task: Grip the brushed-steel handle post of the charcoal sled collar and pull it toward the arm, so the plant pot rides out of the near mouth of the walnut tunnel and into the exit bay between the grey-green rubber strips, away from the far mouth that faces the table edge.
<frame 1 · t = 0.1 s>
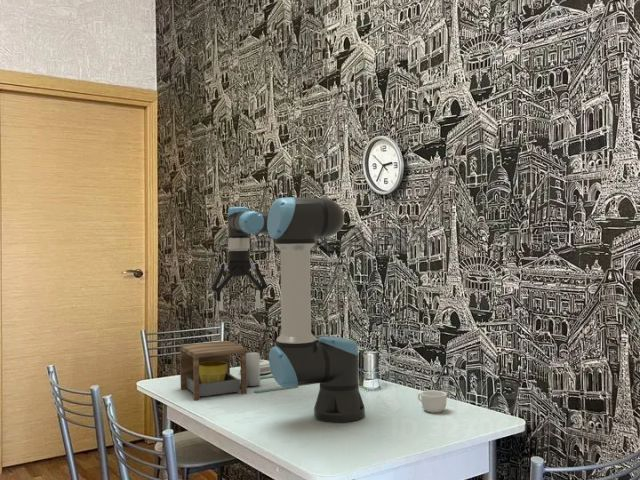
hand: (239, 309, 225), 28 cm above the table, fingers open, 13 cm apart
sled: (226, 371, 222), point 6 cm above the table, slide at 0.0 cm
plant pot: (212, 391, 220), resting in sled
exit bay: (266, 384, 229), on the table
tunnel: (212, 391, 220), on the table
lid: (256, 373, 248), on the table
teacup: (431, 411, 192), on the table
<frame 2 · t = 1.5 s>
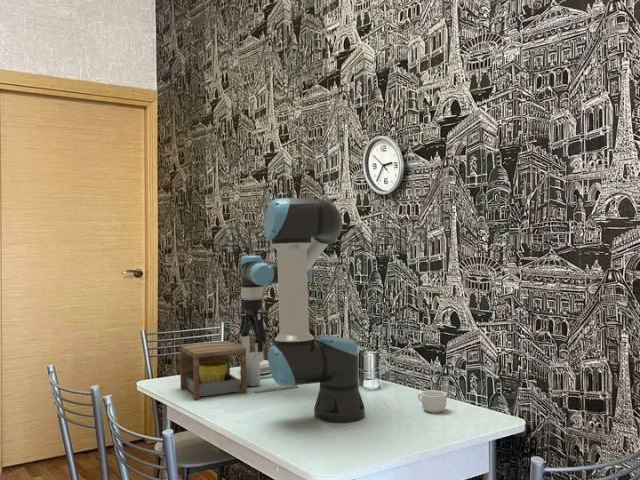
hand: (252, 357, 227), 10 cm above the table, fingers open, 13 cm apart
nothing on the table moved.
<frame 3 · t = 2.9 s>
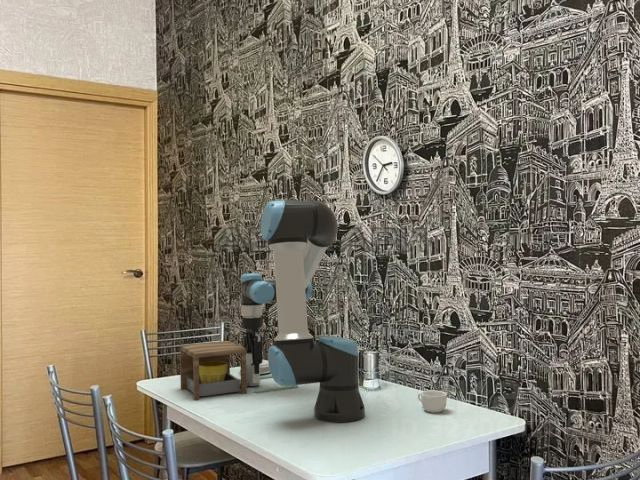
hand: (253, 380, 226), 2 cm above the table, fingers closed on sled, 5 cm apart
sled: (226, 371, 222), point 6 cm above the table, slide at 0.0 cm, touching gripper
everything else where it was.
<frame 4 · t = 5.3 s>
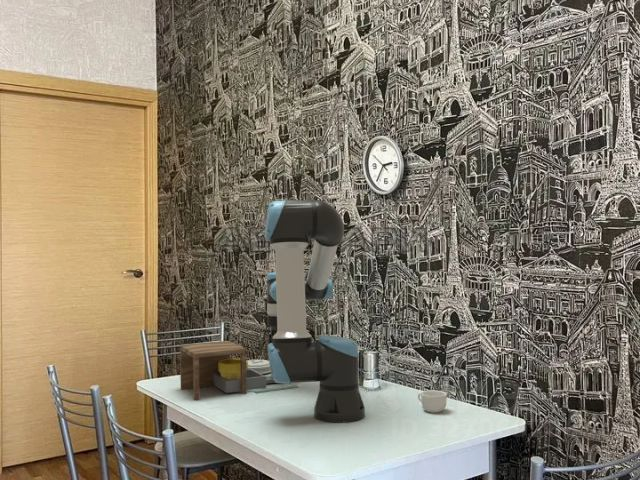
hand: (278, 377, 231), 2 cm above the table, fingers closed on sled, 5 cm apart
sled: (252, 368, 226), point 6 cm above the table, slide at 9.8 cm, touching plant pot, gripper
plant pot: (233, 389, 223), resting in sled
everything else where it was.
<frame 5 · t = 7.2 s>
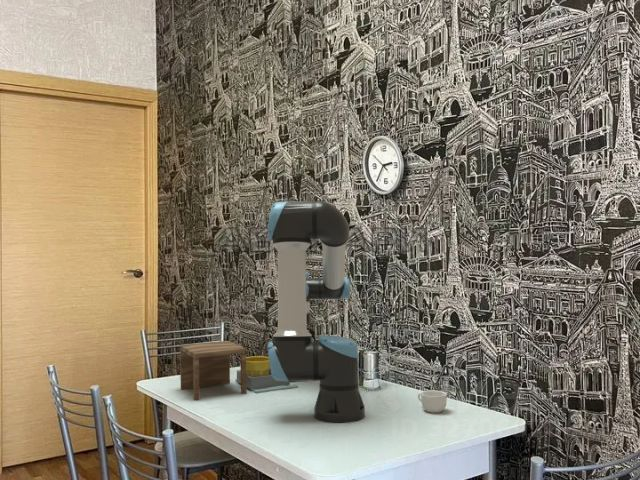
hand: (300, 375, 235), 2 cm above the table, fingers closed on sled, 5 cm apart
sled: (275, 366, 230), point 6 cm above the table, slide at 18.8 cm, touching plant pot, gripper
plant pot: (257, 386, 226), resting in sled
everything else where it was.
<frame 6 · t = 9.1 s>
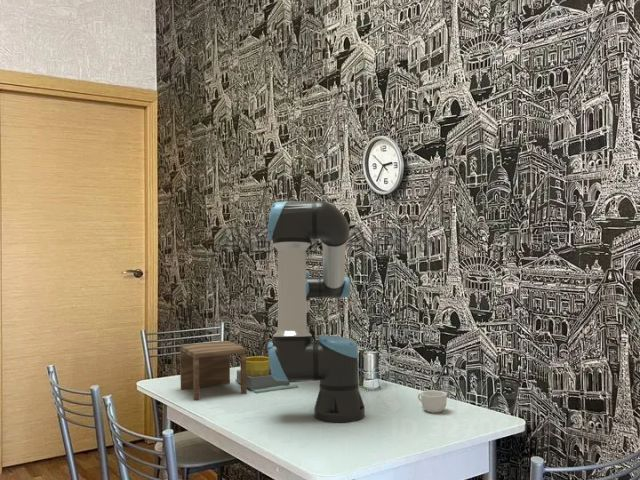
hand: (300, 368, 235), 4 cm above the table, fingers open, 13 cm apart
sled: (275, 366, 230), point 6 cm above the table, slide at 18.8 cm
plant pot: (257, 386, 226), resting in sled
everything else where it was.
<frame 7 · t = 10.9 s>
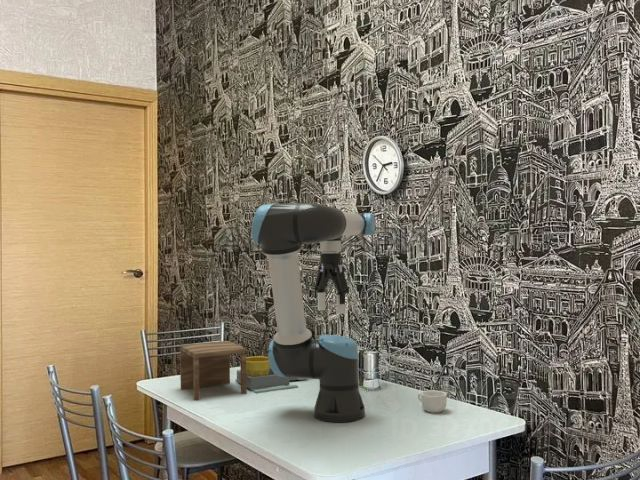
hand: (331, 312, 226), 26 cm above the table, fingers open, 13 cm apart
nothing on the table moved.
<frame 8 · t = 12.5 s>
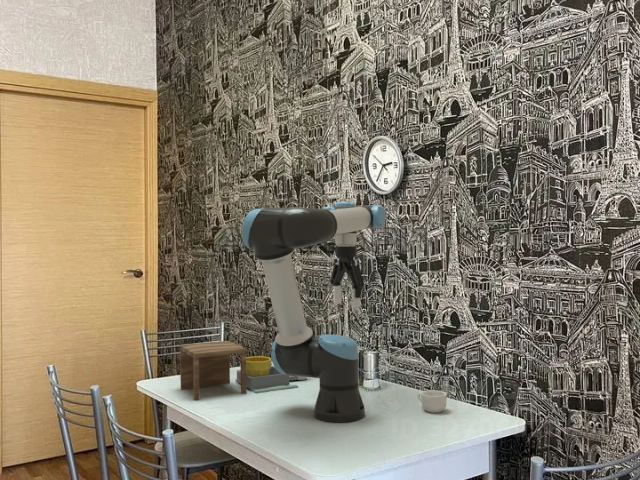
hand: (346, 305, 223), 29 cm above the table, fingers open, 13 cm apart
nothing on the table moved.
at the end: sled slide at 18.8 cm; plant pot inside the target area (2.9 cm from its centre), resting in sled; plant pot tilted 0° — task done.
